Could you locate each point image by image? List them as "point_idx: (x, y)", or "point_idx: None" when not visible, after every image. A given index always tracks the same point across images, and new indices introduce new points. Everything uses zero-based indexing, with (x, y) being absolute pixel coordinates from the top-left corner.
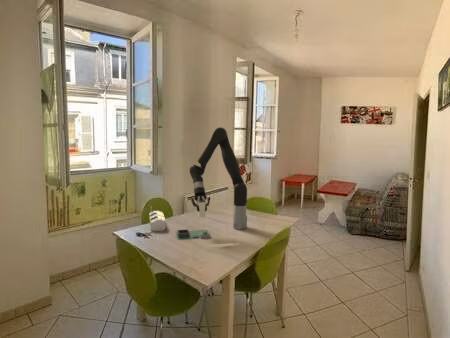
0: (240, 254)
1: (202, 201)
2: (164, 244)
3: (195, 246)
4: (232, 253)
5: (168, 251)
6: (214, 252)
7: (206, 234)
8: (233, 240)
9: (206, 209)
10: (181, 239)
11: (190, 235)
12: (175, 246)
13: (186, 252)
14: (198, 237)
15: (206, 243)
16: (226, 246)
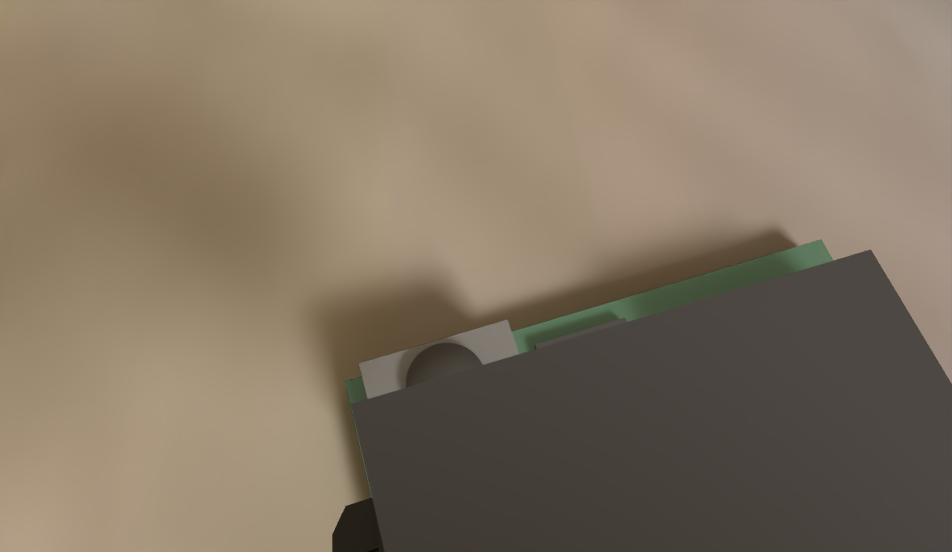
0: (45, 15)
1: (599, 337)
2: (931, 168)
3: (536, 150)
4: (122, 27)
5: (790, 8)
6: (309, 30)
7: (415, 349)
8: (23, 397)
9: (361, 508)
10: (768, 256)
11: None
12: (771, 127)
13: (598, 5)
14: (541, 345)
15: (412, 250)
16: (159, 186)
